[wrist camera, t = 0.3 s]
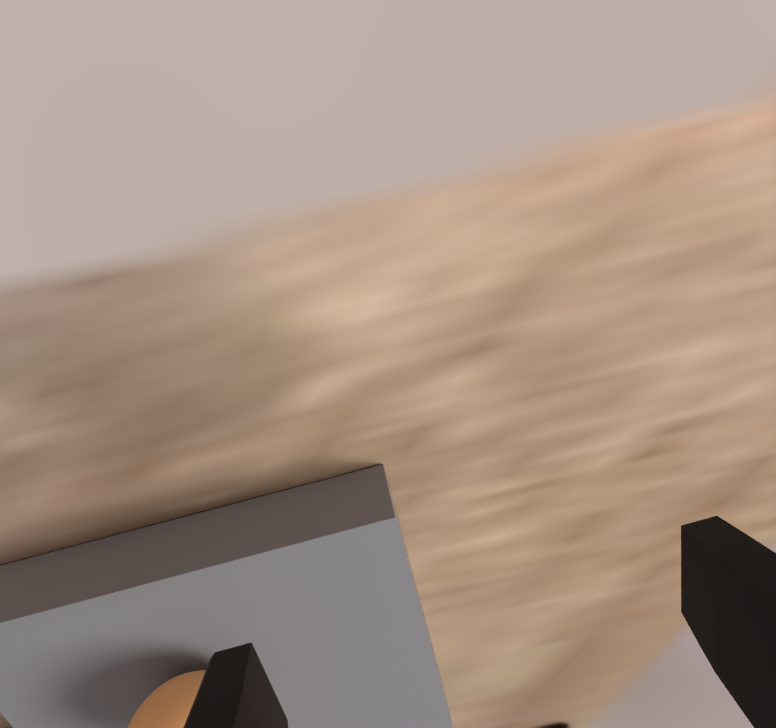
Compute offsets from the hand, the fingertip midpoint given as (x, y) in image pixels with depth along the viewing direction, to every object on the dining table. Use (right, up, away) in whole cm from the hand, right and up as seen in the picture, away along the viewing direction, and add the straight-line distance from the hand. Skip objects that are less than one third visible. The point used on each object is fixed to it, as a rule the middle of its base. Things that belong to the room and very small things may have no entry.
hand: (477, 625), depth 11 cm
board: (-11, -6, +12) cm, 17 cm away
